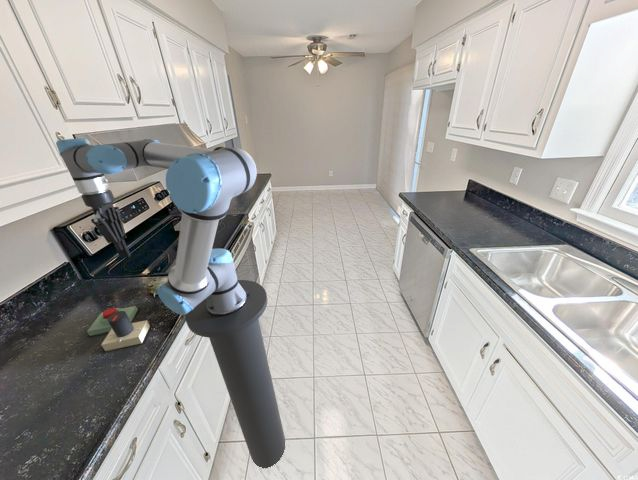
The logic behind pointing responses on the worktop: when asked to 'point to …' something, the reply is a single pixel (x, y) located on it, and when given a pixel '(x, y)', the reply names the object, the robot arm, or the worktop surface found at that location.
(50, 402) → the worktop surface
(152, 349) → the worktop surface
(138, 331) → the dial panel
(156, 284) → the mushroom
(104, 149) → the robot arm
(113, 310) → the switch button
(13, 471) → the worktop surface
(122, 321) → the dial
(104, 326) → the switch base
